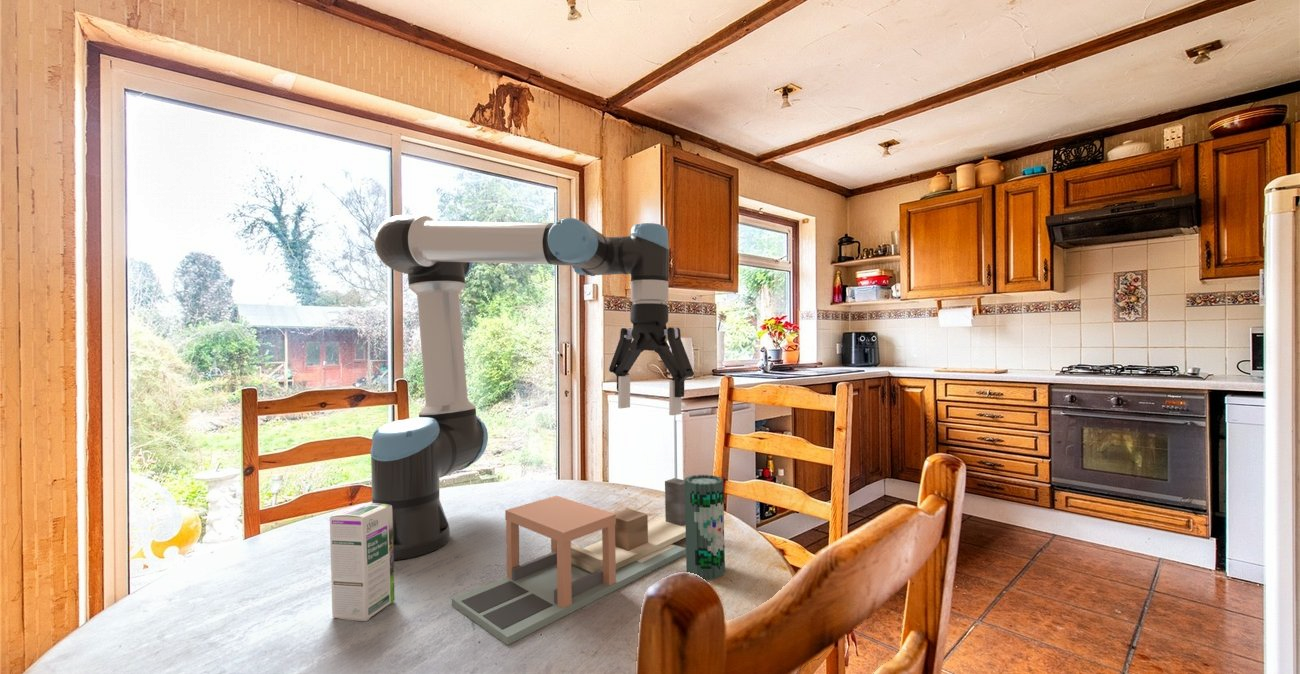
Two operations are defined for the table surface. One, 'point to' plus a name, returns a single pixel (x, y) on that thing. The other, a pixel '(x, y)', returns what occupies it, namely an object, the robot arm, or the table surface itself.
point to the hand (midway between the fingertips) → (648, 411)
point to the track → (552, 570)
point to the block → (631, 529)
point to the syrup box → (362, 561)
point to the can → (704, 526)
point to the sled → (659, 533)
